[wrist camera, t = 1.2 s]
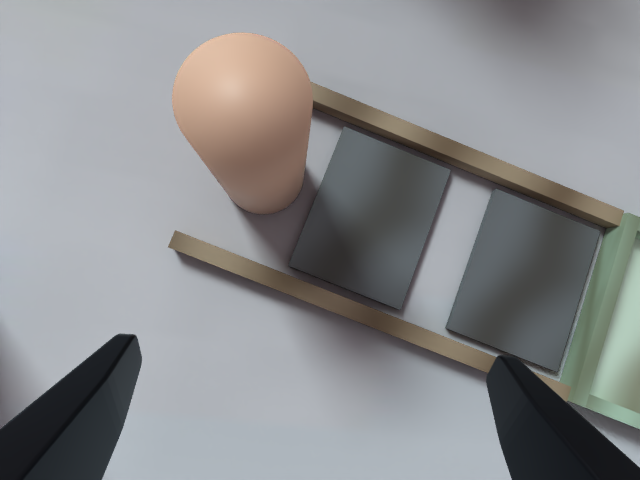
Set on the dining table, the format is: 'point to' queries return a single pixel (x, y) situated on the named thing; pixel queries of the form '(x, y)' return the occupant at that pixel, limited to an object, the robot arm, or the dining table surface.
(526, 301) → the frame
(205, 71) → the peach capsule
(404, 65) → the dining table surface
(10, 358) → the dining table surface
